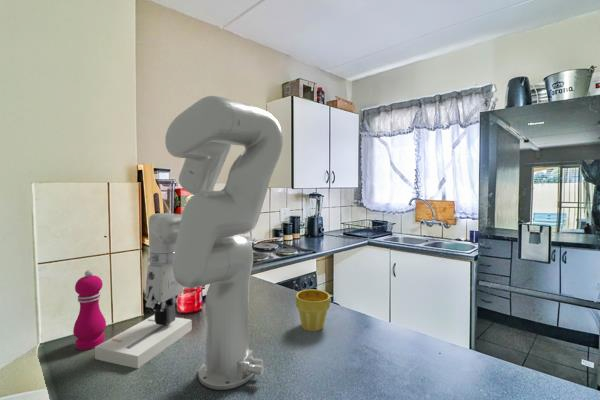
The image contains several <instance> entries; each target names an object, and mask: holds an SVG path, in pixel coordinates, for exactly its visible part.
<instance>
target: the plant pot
mask: <svg viewBox="0 0 600 400" xmlns="http://www.w3.org/2000/svg"><path fill="white" fill-rule="evenodd" d="M330 306H331V295H330V293H329V292H327V291H325V290H321V289H304V290H299V291H298V292H297V293H296V295H295V307H296V308H297V310H298V314H299V321H300V324H301V327H302V329H303V328H304V329H303V330H305V331H307V330H309V331H308V332H318V331H317V330H319V331H321V330H322V329H323V328H324V325H325V321H326V316H327V312H328V310H329V309H330ZM320 329H321V330H320Z"/></svg>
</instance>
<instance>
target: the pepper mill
mask: <svg viewBox="0 0 600 400" xmlns="http://www.w3.org/2000/svg"><path fill="white" fill-rule="evenodd" d="M102 288H103V280H102V279H101V277H100V276H98V275H94V273H93V270H91V269H88V270H85V272H84V276H82V277H80V278H79V279H78V280H77V281H76V283H75V285H74V291H75V293H77V295H78V296H77V302H78V303H79V312H78V315H77V318H76V320H75V322H74V324H73V331H72V332H73V336H74V337H76V340H75V348H76V349H77V350H80V351H86V350H91V349H95V347H96V346H98V345H100V344H101V343H103V342H105V333H104V331H105V330H106V328H107V321H106V318H105V316H104V315H103V312H102V311H101V309H100V303H99V301H100V299H101V298H102V297H101V294H102V293H101V292H100V291H101V290H102Z"/></svg>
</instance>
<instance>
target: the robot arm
mask: <svg viewBox="0 0 600 400" xmlns="http://www.w3.org/2000/svg"><path fill="white" fill-rule="evenodd" d="M283 137H284V136H283V131H282V128H281V125H280V123H279V121H278V119H276V118H275V117H274V116H273V114H272V113H270V112H268V111H266V110H265V109H262V108H260V107H257V106H255V105H251V104H248V103H243V102H239V101H236V100H234V99H233V100H232V99H229V98H225V97H222V96H218V95H208V96H205V97H202V98H200V99H198V100H196V102H195V103H193V104H191V105H190V106H189V107H187V108H186V109H184V110H183V111H182V112H181V113H179V114H178V115H177V116H176V117H175V118H174V119H173V120H172V122H171V123H170V124H169V125H168V128H167V131H166V132H165V137H164V138H165V140H164V141H165V147H166V150H167V152H168V153H169V154H170V155H171V156H173V157H175V158H179V159H180V158H181V159H184V163H183V164H182V167H181V170H180V173H179V176H178V183H179V185H180V187H181V188H182V189H184V190H185V191H186V192H187V193H190V194H191V195H192V196H191V197H190V198H189V199H188V201H187V202H186V203H185V205H184V207H183V211H182V213H181V214H176V213H172V212H160V213H153V214H151V215H150V216H149V217H148V251H149V253H148V254H149V256H148V259H147V261H148V262H149V263H148V266H147V272H146V282H145V283H146V285H145V296H146V304H145V308H149V309H152V310H153V311H154V315H155V319H156V324H160V325H166V310H165V304H167V305H173V306H176V303H177V301H176V300H177V299H178V297H179V295H180V294H182V292H183V291H184V288H187V289H195V288H199V287H204V286H207V285H209V286H208V289H207V291H206V295H205V307H204V308H205V361H204V362H203V363H202V364H201V365H200V367H199V369H198V380H199V382H200V383H201V384H202V385H203V386H205V387H207V389H208V388H209V389H212V390H217V391H218V390H219V391H223V390H225V391H226V390H231V389H235V388H239V387H240V386H242V385H245V384H246V383H247V382H249V381H250V380H251V379H252V378H253V376H254V375H258V376H261V377H262V376H263V374H264V372H265V366H264V360H263V359H260V358H255V357H254V354H253V353H254V351H253V349H250V348H249V347H250V346H249V343H250V342H249V325H250V324H249V321H250V320H249V318H250V317H249V315H250V313H249V310H250V309H249V308H250V307H249V304H250V303H249V301H250V300H249V299H250V280H251V274H252V273H251V272H252V270H253V263H254V249H253V247H252V244H251V242H250V241H249V240H248V239H247V238H246V237H245V236H243V235H245V234H248V233H250V232H252V231H254V229H255V228H256V226H257V223H258V222H259V218H260V215H261V212H262V209H263V204H264V202H265V199H266V196H267V193H268V188H269V185H270V181H271V178H272V175H273V173H274V171H275V168H276V166H277V164H278V162H279V159H280V156H281V155H282V150H283V144H284V138H283ZM232 146H242V147H243V148H245V149H244V151H243V152H241V153H240V154H239V155H238V156H237V158H236V159H235V160H234V161H233V163H232V165H231V167H230V169H229V172H228V175H227V180H226V183H225V185H224V187H223V189H221V190H214V189H215V185H216V184H217V181H218V179H219V176H220V174H221V172H222V170H223V167H224V164H225V162H226V161H227V160H226V159H227V157H228V155H229V152H230V150H231V147H232ZM159 304H160V305H159Z"/></svg>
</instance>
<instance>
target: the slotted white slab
mask: <svg viewBox="0 0 600 400" xmlns="http://www.w3.org/2000/svg"><path fill="white" fill-rule="evenodd" d="M192 323H193V320H192V319H188V318H182V317H176V316H175V320H174V321H172V322H171V323H167V324H166V325H160V324H156V321H155V314H153V315H151V316H149V317H147V318H146V319H144V320H142V321H140V322H138V323H136V324H135V325H133V326H130V327H129V328H127V329H125V330H124V331H122V332H120V333H118V334H116V335H114V336H113V337H111V338H109V339H107V340H104V342H103V343H101V344H100V345H98V346H96V347H95V348H94V358H95V360H97V361H102V362H106V363H111V364H115V365H116V364H117V365H120V366H125V367H128V368H129V367H130V368H133V369H140V368H141V367H142V366H144V365H145V364H147V363H148V362H149V361H151V360H152V359H154V358H155V357H156V356H158V355H159V354H160V353H162V352H163V351H165V350H166V349H168V348H169V347H170V346H171V345H173V344H174V343H175V342H177V341H178V340H180V339H182V338H183V337H184V336H185V335H187V334H188V333H189V332H191V331H192V330H193V324H192Z"/></svg>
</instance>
